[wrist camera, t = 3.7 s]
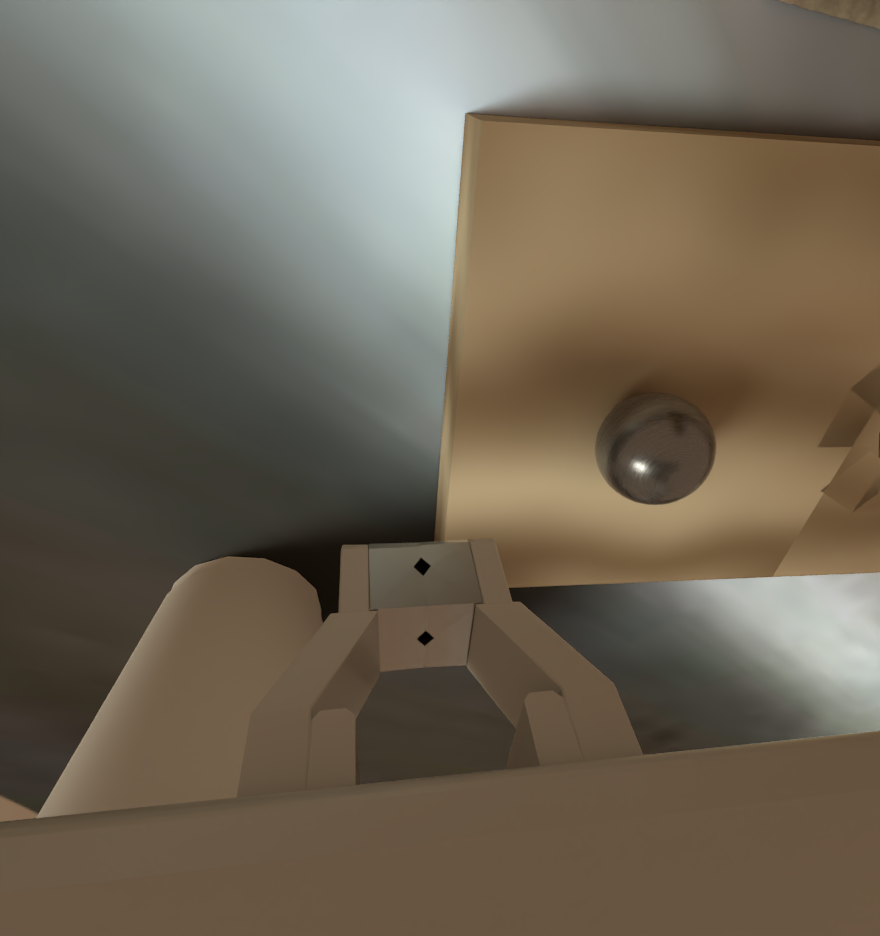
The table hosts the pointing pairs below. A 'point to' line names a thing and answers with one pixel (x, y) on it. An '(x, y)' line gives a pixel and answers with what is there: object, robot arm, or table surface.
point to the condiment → (845, 9)
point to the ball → (655, 448)
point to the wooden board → (664, 347)
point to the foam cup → (191, 690)
